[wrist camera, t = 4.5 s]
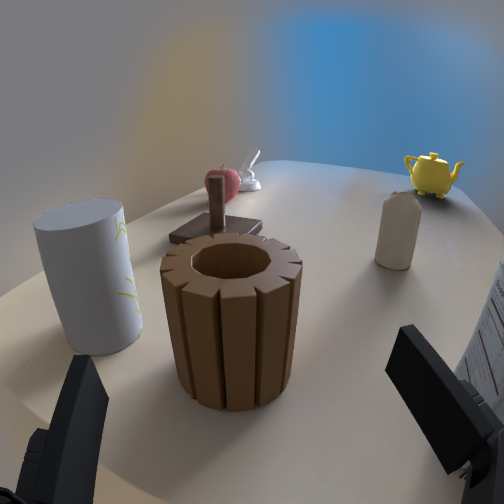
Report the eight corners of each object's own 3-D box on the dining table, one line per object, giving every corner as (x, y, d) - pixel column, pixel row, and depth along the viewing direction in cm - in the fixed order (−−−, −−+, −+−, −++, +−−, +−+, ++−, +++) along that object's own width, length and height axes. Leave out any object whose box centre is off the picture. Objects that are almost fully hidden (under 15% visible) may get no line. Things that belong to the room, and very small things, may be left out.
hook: (280, 165, 80) (271, 153, 74) (257, 205, 80) (246, 195, 74) (257, 156, 83) (247, 144, 77) (235, 194, 84) (222, 184, 77)
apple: (222, 194, 73) (222, 160, 70) (246, 200, 69) (247, 164, 65) (198, 201, 68) (197, 165, 64) (222, 208, 64) (222, 168, 60)
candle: (399, 274, 39) (413, 202, 35) (367, 259, 43) (377, 190, 39) (416, 263, 42) (429, 197, 38) (386, 250, 46) (396, 187, 42)
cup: (155, 337, 28) (134, 213, 23) (75, 366, 23) (33, 239, 18) (128, 297, 34) (110, 193, 29) (62, 318, 29) (33, 212, 24)
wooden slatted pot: (158, 387, 22) (132, 276, 18) (210, 324, 30) (203, 226, 26) (267, 426, 20) (276, 312, 15) (301, 347, 27) (313, 243, 23)
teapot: (466, 205, 75) (472, 163, 69) (403, 193, 80) (408, 150, 75) (454, 194, 86) (459, 157, 81) (398, 183, 92) (402, 145, 87)
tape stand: (169, 243, 48) (164, 182, 44) (204, 220, 57) (202, 168, 53) (235, 255, 44) (234, 187, 40) (262, 228, 53) (263, 172, 49)
